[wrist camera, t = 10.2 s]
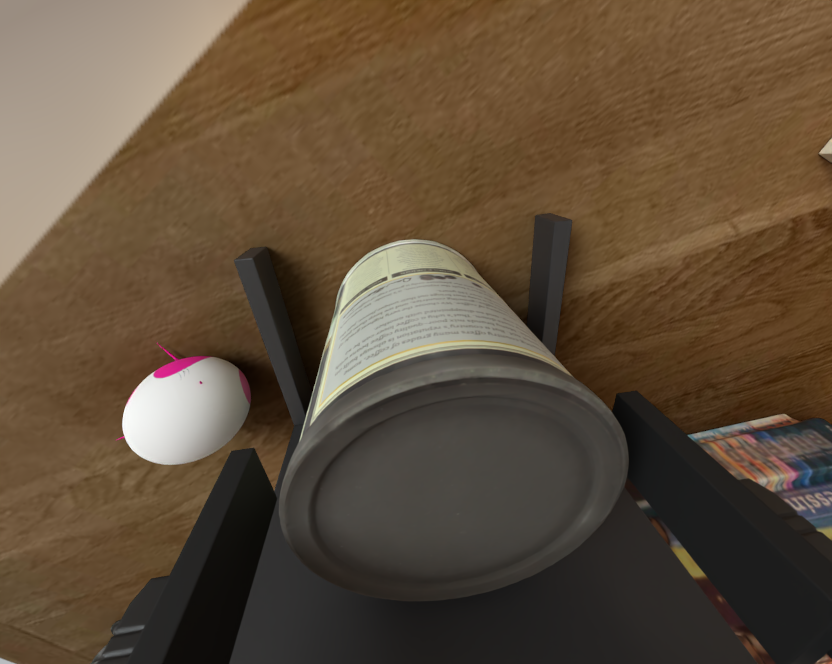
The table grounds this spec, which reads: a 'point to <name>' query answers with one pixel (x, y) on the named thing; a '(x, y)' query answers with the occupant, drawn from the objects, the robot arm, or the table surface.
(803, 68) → the table surface
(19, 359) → the table surface
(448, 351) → the coffee can
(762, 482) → the stack of books
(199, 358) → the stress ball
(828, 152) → the switch block
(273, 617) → the footed upright panel
